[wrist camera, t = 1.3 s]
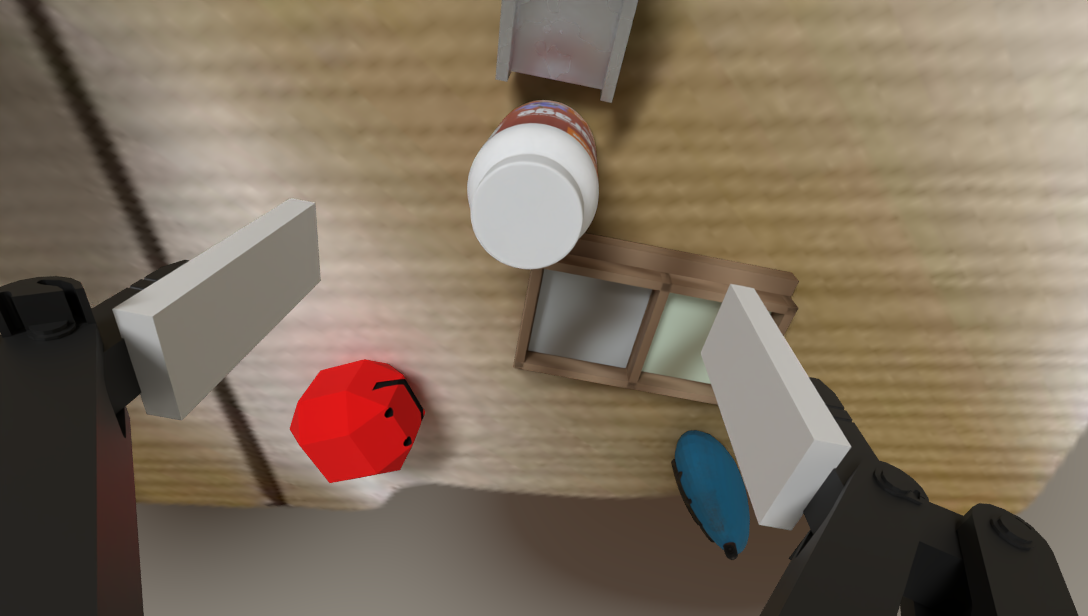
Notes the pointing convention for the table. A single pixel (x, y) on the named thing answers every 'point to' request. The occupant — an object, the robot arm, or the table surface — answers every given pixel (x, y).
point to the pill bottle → (534, 185)
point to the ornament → (712, 490)
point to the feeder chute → (565, 40)
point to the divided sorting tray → (636, 314)
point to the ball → (357, 420)
